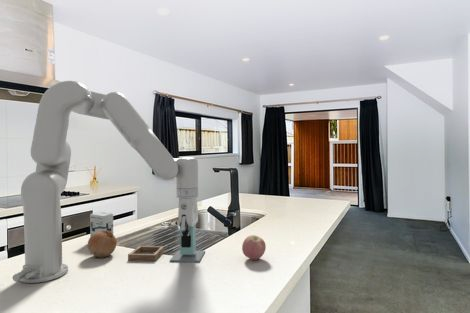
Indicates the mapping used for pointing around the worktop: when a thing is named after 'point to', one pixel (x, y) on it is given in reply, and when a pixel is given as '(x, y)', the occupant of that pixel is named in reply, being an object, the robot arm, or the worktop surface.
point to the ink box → (101, 222)
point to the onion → (102, 244)
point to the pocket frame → (146, 257)
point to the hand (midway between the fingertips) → (187, 244)
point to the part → (193, 242)
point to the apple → (253, 247)
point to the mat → (187, 257)
